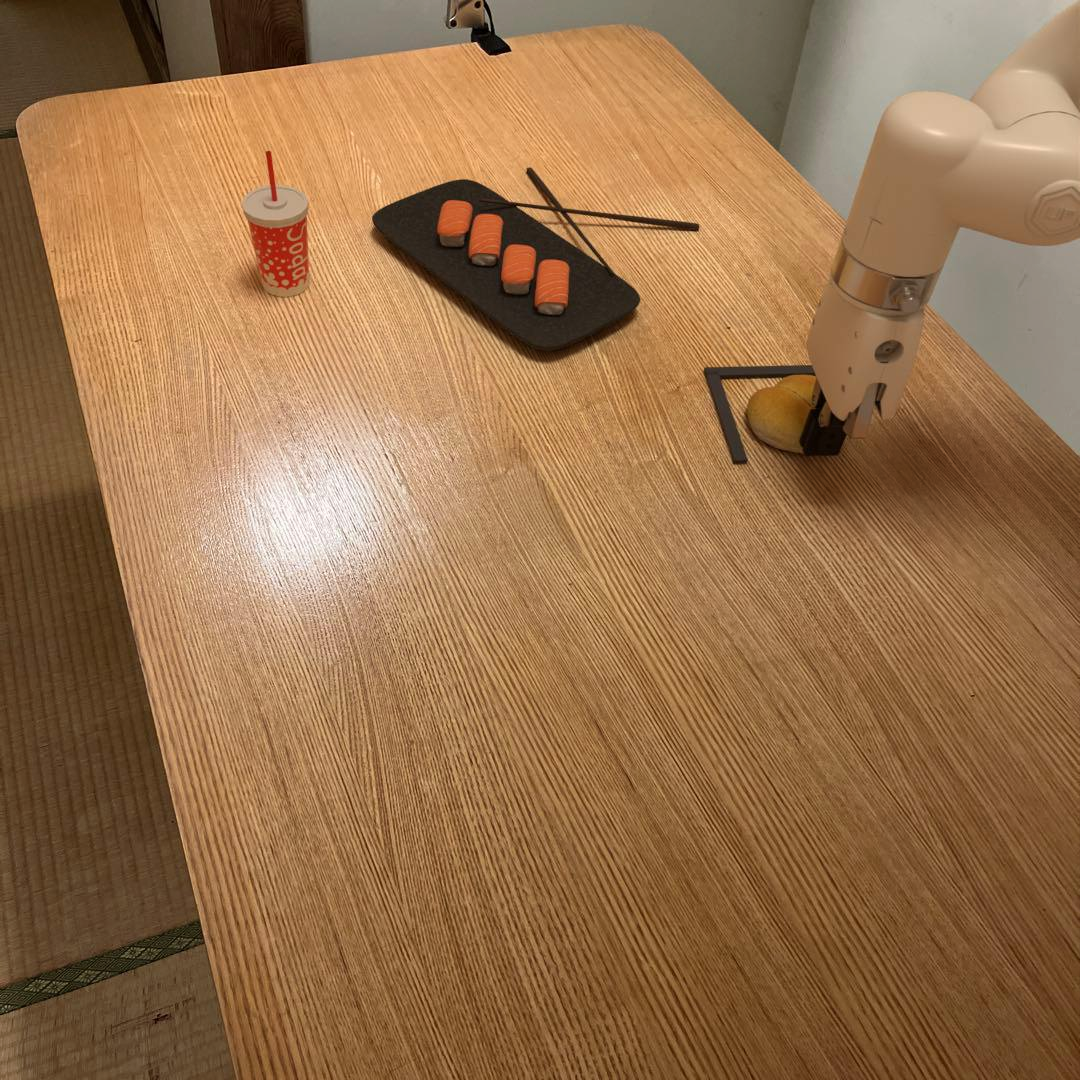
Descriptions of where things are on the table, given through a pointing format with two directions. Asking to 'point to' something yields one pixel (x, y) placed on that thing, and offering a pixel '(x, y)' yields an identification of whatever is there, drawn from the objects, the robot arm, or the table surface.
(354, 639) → the table surface
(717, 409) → the corner guide
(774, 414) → the bread roll
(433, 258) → the sushi plate
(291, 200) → the beverage cup
